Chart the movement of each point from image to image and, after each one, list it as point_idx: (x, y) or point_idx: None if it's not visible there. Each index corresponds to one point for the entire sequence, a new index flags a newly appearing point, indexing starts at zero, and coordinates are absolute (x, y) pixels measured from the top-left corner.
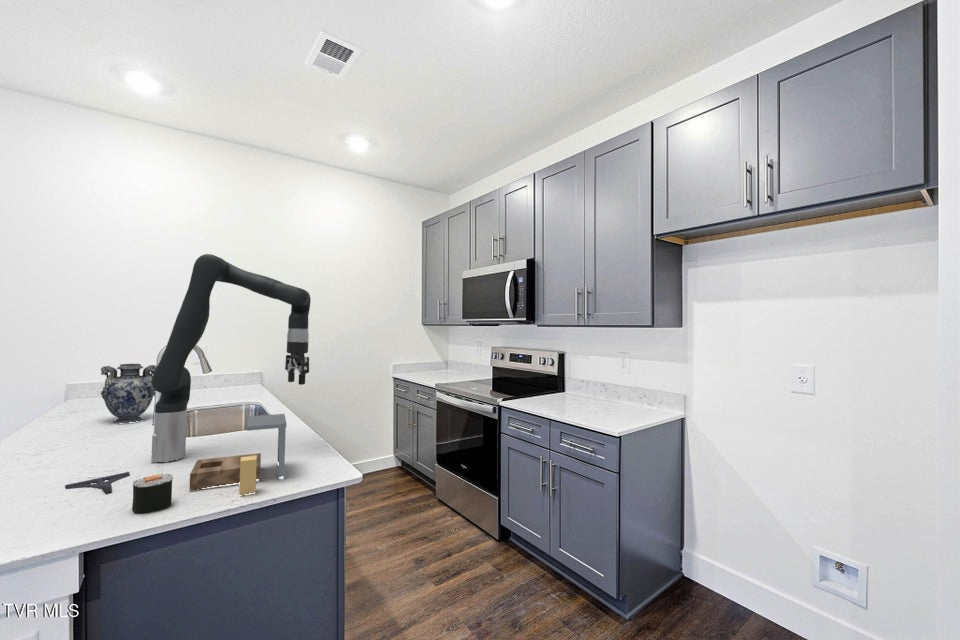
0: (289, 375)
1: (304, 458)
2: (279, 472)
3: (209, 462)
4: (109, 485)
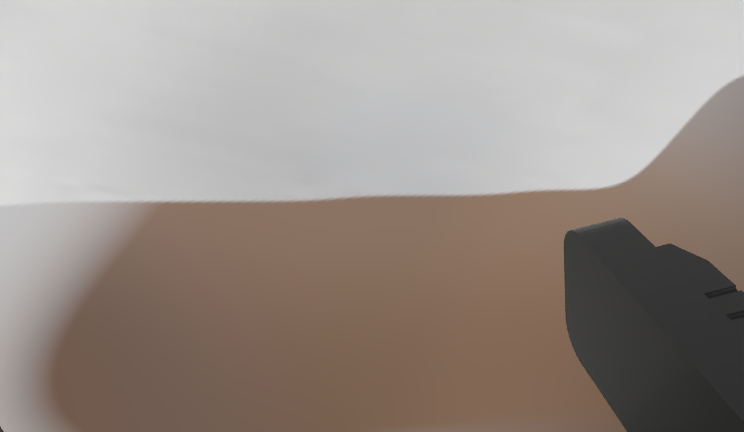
0: (670, 360)
1: (66, 17)
2: None
3: None
4: None
